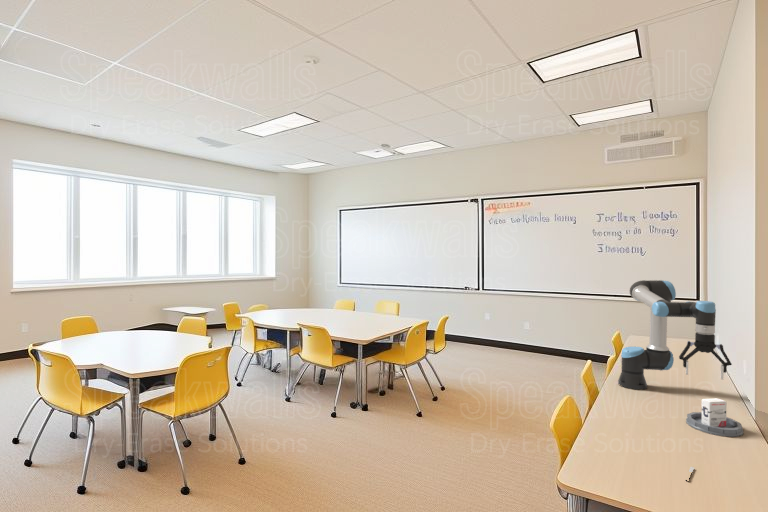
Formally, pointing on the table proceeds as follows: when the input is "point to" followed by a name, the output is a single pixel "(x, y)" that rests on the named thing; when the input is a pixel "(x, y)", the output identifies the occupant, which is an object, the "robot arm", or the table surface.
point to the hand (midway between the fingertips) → (704, 376)
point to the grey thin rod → (691, 469)
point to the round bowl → (729, 430)
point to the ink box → (714, 412)
